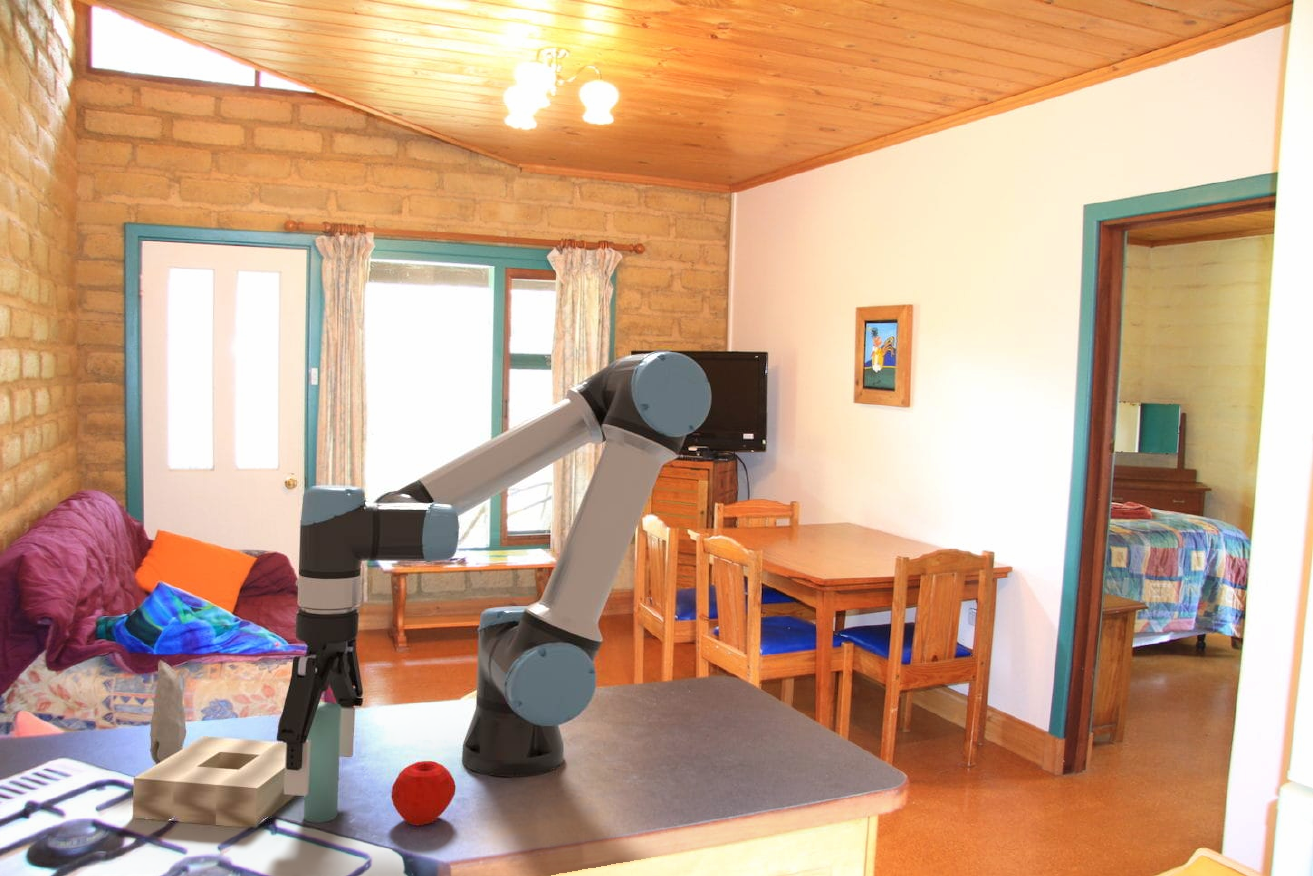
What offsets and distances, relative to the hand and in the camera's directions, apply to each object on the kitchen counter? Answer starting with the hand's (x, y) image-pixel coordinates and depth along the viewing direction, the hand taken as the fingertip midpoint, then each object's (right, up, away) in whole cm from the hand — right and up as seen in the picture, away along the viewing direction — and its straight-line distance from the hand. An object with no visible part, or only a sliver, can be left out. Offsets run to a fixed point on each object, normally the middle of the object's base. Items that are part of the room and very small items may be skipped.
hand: (320, 774), depth 126 cm
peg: (0, -5, 0) cm, 5 cm away
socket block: (-14, -5, +4) cm, 15 cm away
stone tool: (-27, -4, +15) cm, 31 cm away
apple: (+13, -6, 0) cm, 14 cm away
